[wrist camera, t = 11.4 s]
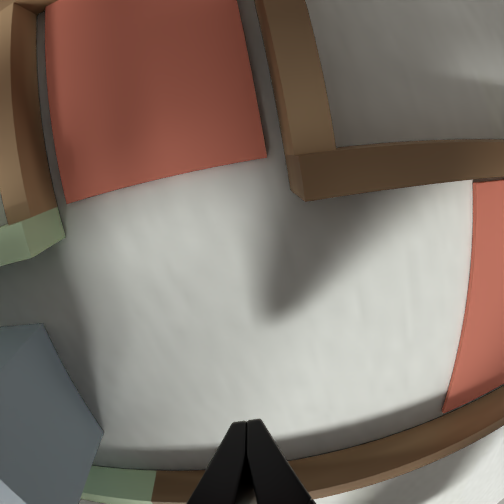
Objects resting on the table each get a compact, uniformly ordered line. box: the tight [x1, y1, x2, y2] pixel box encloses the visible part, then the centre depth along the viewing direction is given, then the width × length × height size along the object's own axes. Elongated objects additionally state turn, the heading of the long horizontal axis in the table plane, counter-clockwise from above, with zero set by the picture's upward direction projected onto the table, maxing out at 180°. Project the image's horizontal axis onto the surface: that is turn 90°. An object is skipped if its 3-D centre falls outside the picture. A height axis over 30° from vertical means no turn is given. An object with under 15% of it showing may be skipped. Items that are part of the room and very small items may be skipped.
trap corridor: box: [0, 0, 504, 504], centre depth 8 cm, size 22×29×2 cm
